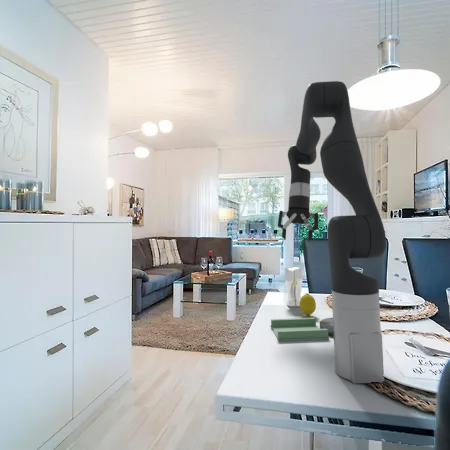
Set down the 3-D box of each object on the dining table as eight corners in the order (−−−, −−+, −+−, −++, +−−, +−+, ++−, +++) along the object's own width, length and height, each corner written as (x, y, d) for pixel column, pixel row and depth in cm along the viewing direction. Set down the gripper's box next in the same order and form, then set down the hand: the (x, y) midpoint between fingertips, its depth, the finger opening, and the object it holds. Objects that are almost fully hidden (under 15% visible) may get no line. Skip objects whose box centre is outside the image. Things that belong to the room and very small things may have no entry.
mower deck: (379, 337, 84) (379, 330, 84) (329, 339, 84) (329, 332, 84) (357, 322, 98) (356, 316, 98) (313, 324, 98) (313, 318, 98)
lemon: (317, 318, 104) (316, 295, 105) (300, 317, 106) (299, 294, 106) (315, 314, 110) (314, 291, 110) (299, 313, 111) (298, 291, 111)
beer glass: (282, 304, 126) (281, 268, 126) (297, 302, 128) (296, 267, 128) (291, 308, 119) (289, 270, 120) (306, 306, 121) (305, 268, 122)
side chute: (329, 339, 84) (328, 330, 84) (278, 341, 84) (278, 332, 84) (314, 324, 97) (313, 317, 98) (270, 326, 97) (270, 318, 97)
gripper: (279, 193, 109) (276, 237, 107) (320, 195, 107) (318, 240, 104) (279, 198, 117) (276, 240, 114) (318, 200, 114) (315, 243, 111)
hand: (296, 240), depth 109 cm, fingers open, 8 cm apart
